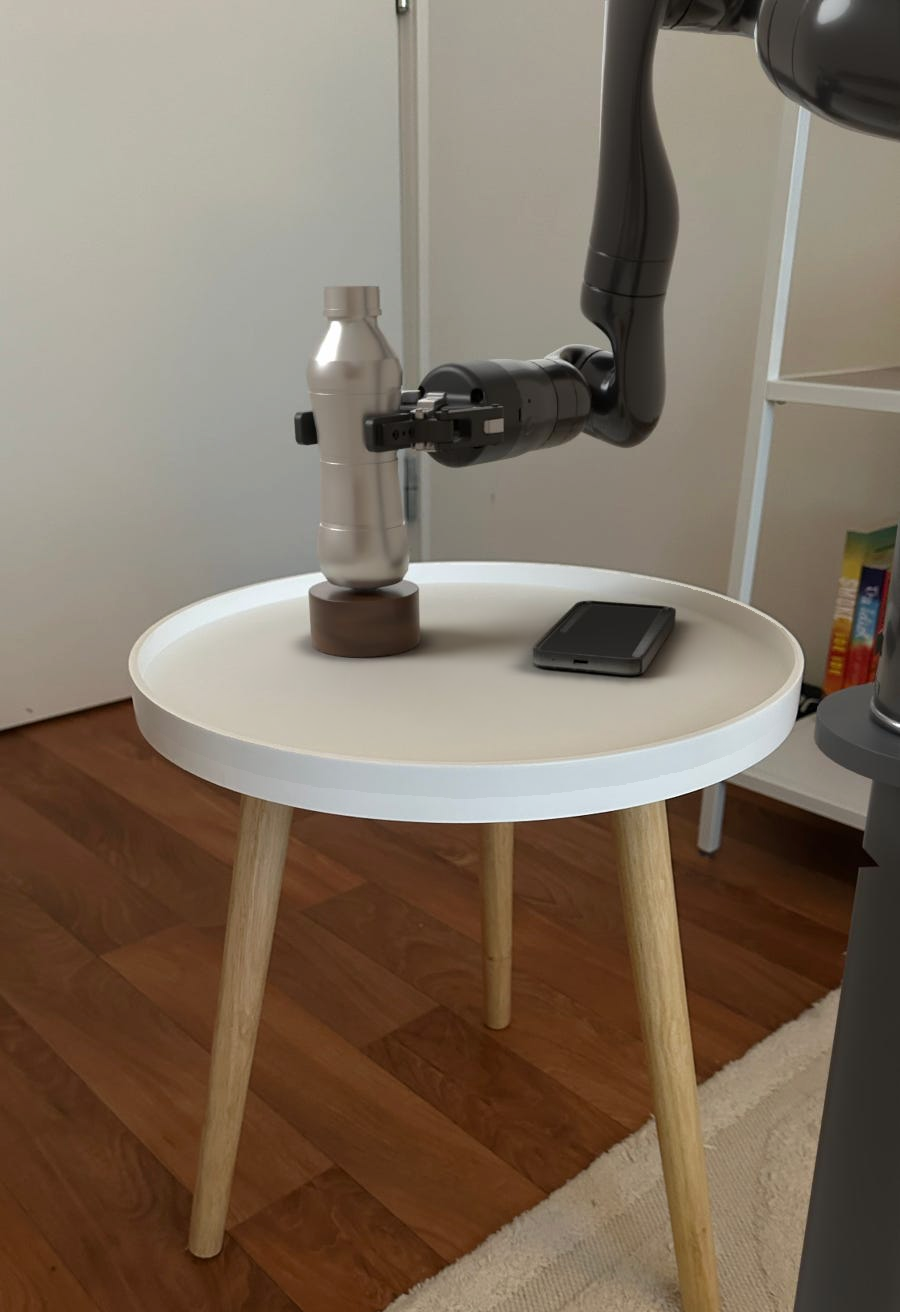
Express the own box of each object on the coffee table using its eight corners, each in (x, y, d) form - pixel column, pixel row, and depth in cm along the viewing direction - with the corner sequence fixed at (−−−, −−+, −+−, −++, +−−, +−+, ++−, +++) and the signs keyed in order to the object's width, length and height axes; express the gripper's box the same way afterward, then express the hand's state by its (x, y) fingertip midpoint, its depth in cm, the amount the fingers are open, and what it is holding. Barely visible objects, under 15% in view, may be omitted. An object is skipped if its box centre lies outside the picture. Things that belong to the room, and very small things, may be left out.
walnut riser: (439, 635, 87) (439, 583, 85) (381, 663, 81) (380, 606, 79) (351, 623, 91) (349, 572, 89) (289, 648, 84) (285, 593, 83)
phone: (678, 607, 89) (642, 660, 76) (677, 621, 90) (641, 676, 77) (578, 599, 92) (526, 649, 79) (577, 613, 92) (526, 665, 79)
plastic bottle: (395, 601, 80) (384, 286, 72) (304, 595, 82) (284, 287, 74) (422, 579, 86) (416, 285, 78) (337, 574, 88) (322, 286, 80)
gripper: (416, 357, 92) (257, 369, 81) (565, 362, 84) (411, 377, 72) (418, 454, 95) (265, 480, 84) (562, 469, 87) (414, 499, 75)
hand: (333, 432), depth 78 cm, fingers closed on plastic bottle, 6 cm apart
